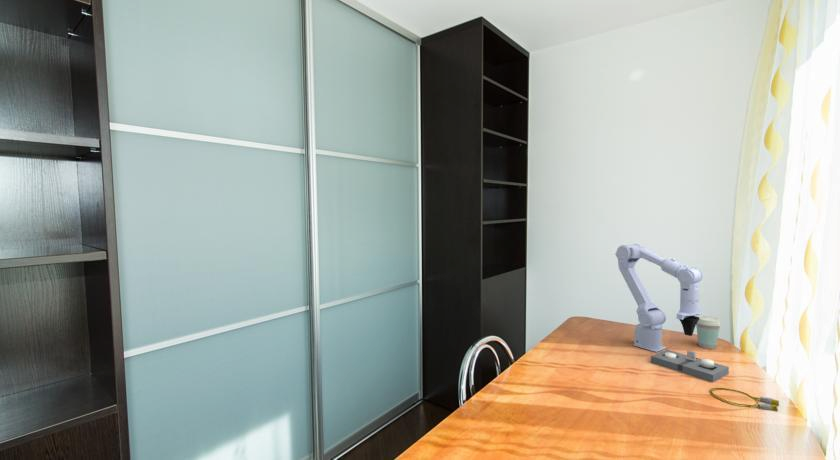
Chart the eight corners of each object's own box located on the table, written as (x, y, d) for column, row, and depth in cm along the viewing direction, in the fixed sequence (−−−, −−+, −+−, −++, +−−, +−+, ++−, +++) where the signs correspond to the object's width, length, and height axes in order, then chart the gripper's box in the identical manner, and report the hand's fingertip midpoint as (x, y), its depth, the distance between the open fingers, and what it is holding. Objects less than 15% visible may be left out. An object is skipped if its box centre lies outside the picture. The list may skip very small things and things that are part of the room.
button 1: (662, 358, 145) (662, 353, 145) (667, 356, 147) (667, 351, 147) (673, 361, 142) (673, 356, 142) (678, 359, 144) (678, 354, 144)
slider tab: (685, 358, 141) (685, 351, 141) (688, 357, 142) (688, 349, 142) (694, 361, 139) (694, 353, 138) (697, 359, 140) (697, 352, 140)
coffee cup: (711, 343, 164) (712, 315, 163) (725, 350, 156) (725, 321, 155) (690, 343, 165) (690, 315, 164) (702, 350, 156) (703, 321, 156)
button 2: (699, 365, 135) (699, 359, 135) (704, 363, 137) (704, 357, 137) (711, 368, 132) (711, 363, 132) (715, 366, 134) (716, 360, 133)
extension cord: (766, 419, 106) (766, 412, 106) (702, 395, 120) (702, 389, 120) (785, 408, 112) (785, 401, 112) (722, 386, 126) (722, 380, 126)
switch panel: (650, 362, 145) (650, 355, 145) (667, 355, 151) (667, 349, 151) (712, 382, 128) (713, 375, 128) (728, 373, 134) (728, 366, 134)
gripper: (691, 304, 139) (691, 341, 140) (710, 299, 147) (709, 334, 147) (670, 300, 145) (670, 336, 146) (689, 295, 153) (688, 329, 153)
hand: (688, 335), depth 147 cm, fingers closed
